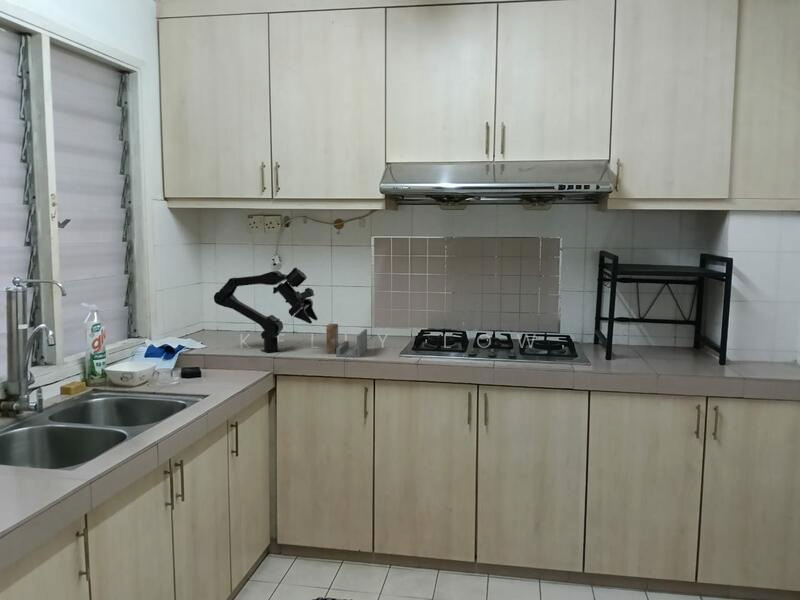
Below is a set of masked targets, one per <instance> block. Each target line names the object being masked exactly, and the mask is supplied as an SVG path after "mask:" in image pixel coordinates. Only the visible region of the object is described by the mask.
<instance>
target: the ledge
mask: <svg viewBox="0 0 800 600" xmlns="http://www.w3.org/2000/svg"><path fill="white" fill-rule="evenodd" d="M349 342H350V341H349V340H344V342H342V343H341V344H340V345H338V348H336V353H335V356H336V357H337V358H361V357H362V356H363V354H365V352H366V351H367V350H368V329H367V328H365V329H363V330H362V331H361V332H359V334H357V335H356V346H350V343H349Z"/></svg>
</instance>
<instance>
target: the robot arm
mask: <svg viewBox="0 0 800 600" xmlns="http://www.w3.org/2000/svg"><path fill="white" fill-rule="evenodd" d="M307 278H308V277H307V275H306V274H305V273H304V272H303V271H301V270H300V269H298V267H294V268H293V269H292V270H291V271H290V272H289V273H288V274H284V273H282V272H281V271H280V270H274V271H273V270H272V271H269V272H266V273H263V274H260V275H259V274H258V275H251V276H250V275H249V276H240V277H235V276H234V277H231V278H229V279H228V280H227V282H226V283H225V284H224V285H223V286H222V287H221V288H220V289H219V291H218V292H215V294H214V295H213V300H214V303H215V304H216V305H219V306H221V307H224V308H227V309H232V310H234V311H236V312H237V313H239V314H240V315H243V316H245V318H248V319H249V320H251V321H253V322H255V323H256V324H258V325H259V326H260V327H261V329H262V330H263V331H262V332H261V333H260V336H261V339H263V348H262V349H260V351H261V352H264V353H268V354H269V353H275V352H276V351H277V352H281V351H282V349H279V342H278V341H279V340H278V336H279V335H280V332H282V331H283V329H284V325H283V322H282V321H281V319H280V318H278V317H276V316H275V315H274V314H271V315H268V316H267V315H264V314H262V313H261V312H259V311H257V310H255V309H254V308H252V307H250V306H248V305H247V304H245V303H243V302H242V301H240V300H239V299H238V298H237V297H236V296H235V292H236V290H237V289H238V287H242V286H243V287H244V286H251V285H267V286H269V285H270V286H274V287H272V288H273V289H272V290H273V291H272V294H274V295H275V294H277V293H279V294H280V296H281V297H283V299H284V300H285V301H284V302H285V303H286V304H289V306H291V307H290V309H288V314H289V315H290V317H293V318H295V319H298V320H300V321H303V322H306V323H307V324H312V323H313V321H312V320H314V321H317V320H319V319H318V317H317V315H316V313H315V310H314V308H313V305H314V303H313V302H314V301H313V300H312V298H311V297H314V296H315V294H314V289H312V288H310V287H307V288H304V291H302V292H300V291H298V290H295V288H298V287H299V286H300V285H302V283H304V282H305V281H306V280H307ZM284 281H285V282H284ZM275 285H277V286H275Z"/></svg>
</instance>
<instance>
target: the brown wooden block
mask: <svg viewBox="0 0 800 600" xmlns="http://www.w3.org/2000/svg"><path fill="white" fill-rule="evenodd" d="M325 331H326V335H325V336H326V338H325V339H326V354H328V355H329V354H330V355H331V354H332V355H336V348H338V347H339V324H338V323H329V324H327V325H326V329H325Z"/></svg>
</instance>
